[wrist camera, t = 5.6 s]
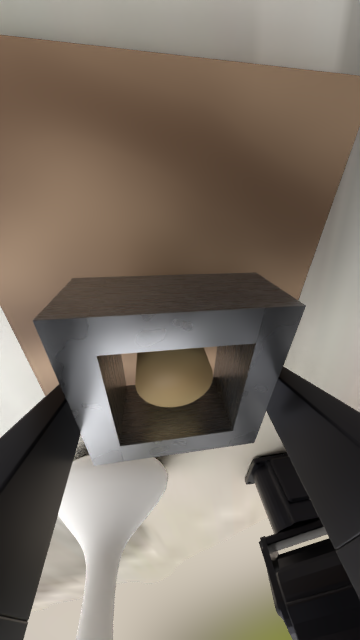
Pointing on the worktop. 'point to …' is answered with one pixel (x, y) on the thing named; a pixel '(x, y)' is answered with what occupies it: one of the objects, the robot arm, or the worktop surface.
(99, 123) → the keeper board
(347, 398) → the worktop surface
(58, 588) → the worktop surface
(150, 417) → the steel link
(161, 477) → the flower in vase
